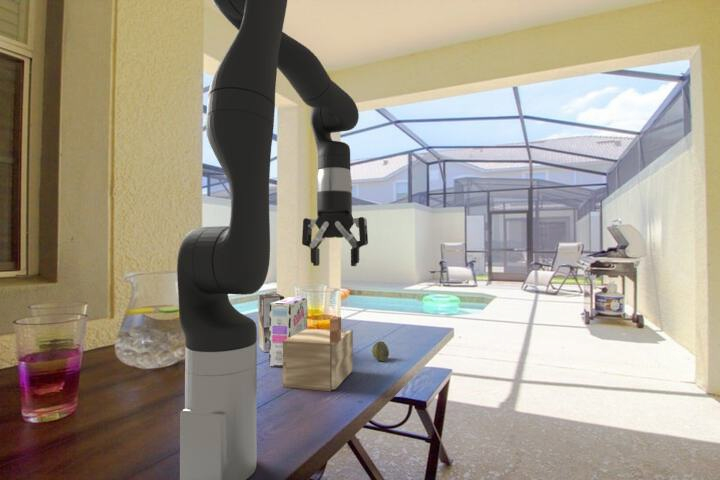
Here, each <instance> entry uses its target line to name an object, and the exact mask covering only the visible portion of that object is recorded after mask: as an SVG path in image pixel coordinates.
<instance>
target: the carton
mask: <svg viewBox="0 0 720 480" xmlns="http://www.w3.org/2000/svg"><path fill="white" fill-rule="evenodd" d="M347 331H348V330H346V329H344V330H342V329H341V336H342V335H343V334H344V333H346V332H347ZM282 387H283V388H292V389H302V390H304V389H306V390H313V391H327V392H331V391H332V390H333V389H331V343H330V329H325V328H324V329H321V328H317V329H316V328H307V329H305V330H303V331H301V332H299V333H297V334H295V335H293V336H291V337H289V338H288V339H286V340H284V341H283V367H282Z"/></svg>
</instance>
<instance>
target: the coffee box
mask: <svg viewBox="0 0 720 480" xmlns="http://www.w3.org/2000/svg"><path fill="white" fill-rule="evenodd" d="M257 296H258V297H257V299H258V303H257V304H258V308H257V309H258V312H257V313H258V315H257V316H258V327H257V328H258V330H257V331H258V333H257V335H258V336H257V337H258V338H257V341H258V343H257V347H258V348H259V349H260V350H261V351H262V352H263V353H269V334H270V333H269V332H270V330H269V328H270V303H273V302H276V301H280V300H283V299H285V296H284V295H281V294H278V293H267V294H258V295H257Z"/></svg>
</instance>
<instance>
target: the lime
mask: <svg viewBox="0 0 720 480" xmlns="http://www.w3.org/2000/svg"><path fill="white" fill-rule="evenodd" d="M371 352H372V353H371V354H372V356H373V357H374V358H375V359H376V360H378V361H380V362H386V361H387V360H388V358H389V355H390V352H389V348H388V345H387V344H386V343H385V342H384V341H377V342H375V344H374V345H373V346H372V349H371Z"/></svg>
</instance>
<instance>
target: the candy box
mask: <svg viewBox="0 0 720 480" xmlns="http://www.w3.org/2000/svg"><path fill="white" fill-rule="evenodd" d="M305 329H308V298H307V297H291V296H289V297H286V298H284V299H283V300H280V301H276V302H273V303H270V328H269V330H270V332H269V333H270V334H269V352H268V354H269V355H268V359H269V361H268V363H269V364H268V366H269V367H277V368H278V367H280V368H283V341H284V340H286V339H288V338H289V337H291V336H293V335H295V334H297V333H299V332H301V331H303V330H305Z"/></svg>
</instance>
